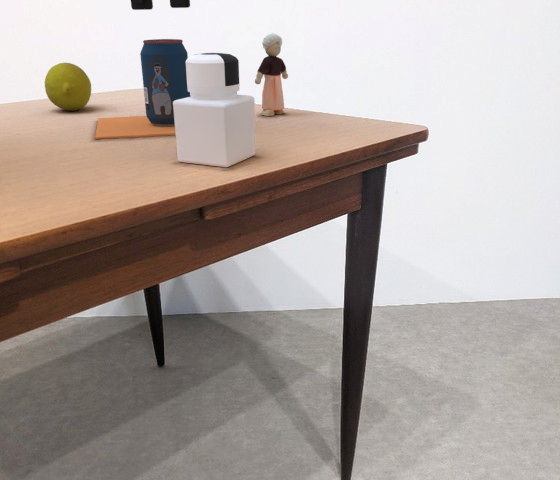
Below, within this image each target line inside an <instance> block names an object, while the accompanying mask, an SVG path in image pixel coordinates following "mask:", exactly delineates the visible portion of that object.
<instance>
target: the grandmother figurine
mask: <svg viewBox="0 0 560 480" xmlns="http://www.w3.org/2000/svg"><path fill="white" fill-rule="evenodd" d="M261 43H262V48H263V49H264V51H265V53H266V55H267V56H265V57H263V59H262V61H261V63H260V65H259V67H258V69H257V73H256V75H255V79H254V83H255V84H256V85H261V83H262V79H263V77H264V82H263V87H262V94H261V109H262V110H261V112H260V116H264V117H273V116H275V115H282V114H284V113H285V112H284V110H285V99H284V92H283V84H282V79H283V80H287V79H288V78H289V74H288V71H287V67H286V64H285V62H284V60H283V59H282V58H280V57H279V55H280V53H281V51H282V50H281V49H282V46H283V38H282V37H281V36H280V35H278V34H277V33H274V32H271V33H269V34H267V35H266V36H265V37H263V40H262V42H261Z"/></svg>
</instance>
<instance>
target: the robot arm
mask: <svg viewBox="0 0 560 480" xmlns="http://www.w3.org/2000/svg"><path fill="white" fill-rule="evenodd" d="M169 6H170V8H172V9H188V8H191V0H169ZM130 7H131V9H132V10H133V11H140V10H141V11H145V10H146V11H147V10H153V8H154V3H153V0H130Z"/></svg>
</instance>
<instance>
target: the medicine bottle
mask: <svg viewBox="0 0 560 480" xmlns="http://www.w3.org/2000/svg"><path fill="white" fill-rule="evenodd" d="M239 61H240V60H239V59H238V57H236V56H235V55H233V54H230V53H225V52H224V53H223V52H203V53H195V54H192V55H191V56H188V58H187V60H186V75H187V89H188V92H190V96H191V97H187V98H183V99H179V100H175V101H174V102H173V112H174V124H175V135H174V137H175V147H176V149H175V150H176V158H177V161H178V162H179V163H185V164H186V163H187V164H194V165H204V166H212V167H221V168H229V167H232V166H233V165H236V164H239V163H240V162H242V161H244V160H247V159H249V158H251V157H254V156H255V155H256V153H257V149H256V148H257V145H256V144H257V143H256V109H255V108H256V107H255V104H256V103H255V97H254V96H253V95H247V94H238V92H239V91H240V89H241V87H240V62H239Z"/></svg>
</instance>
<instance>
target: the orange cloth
mask: <svg viewBox="0 0 560 480" xmlns="http://www.w3.org/2000/svg"><path fill="white" fill-rule="evenodd" d="M165 136H166V137H168V136H175V126H170V127H163V126H154V125H152V124H151V122H150V121H149V119H148V118H147V116H146V115H138V116H137V115H136V116H115V117H113V116H112V117H98V119H97V124H96V129H95V135H94V140H110V139H129V138H147V137H148V138H149V137H165Z"/></svg>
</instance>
